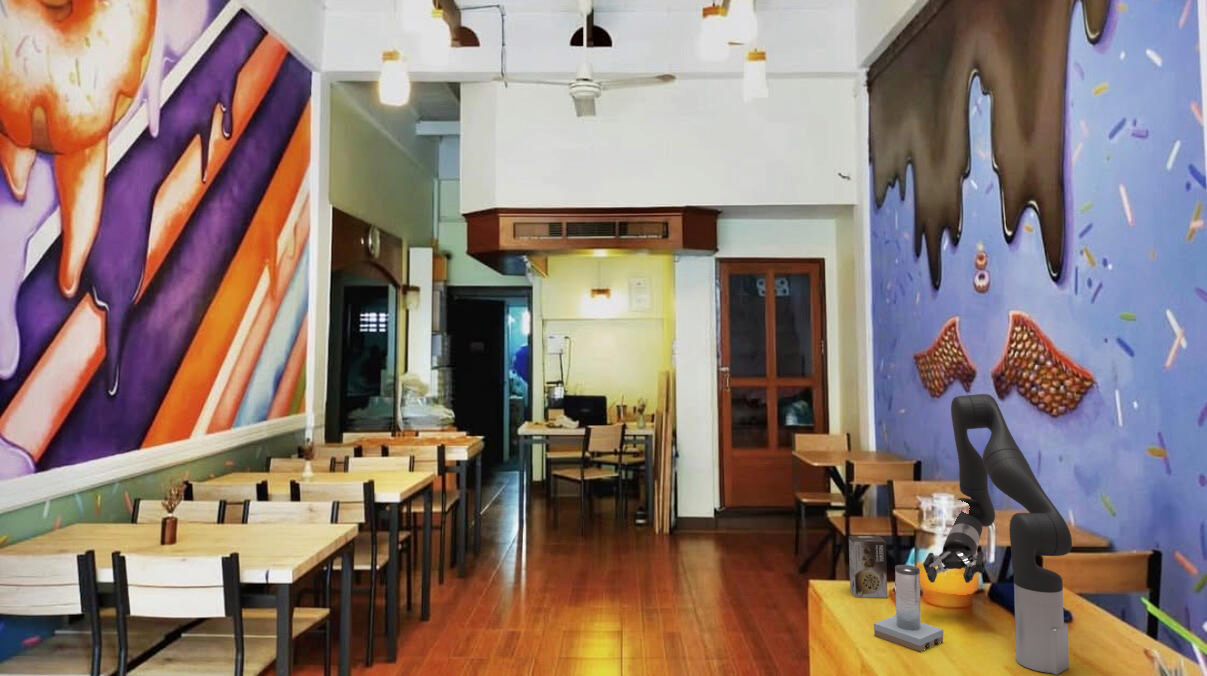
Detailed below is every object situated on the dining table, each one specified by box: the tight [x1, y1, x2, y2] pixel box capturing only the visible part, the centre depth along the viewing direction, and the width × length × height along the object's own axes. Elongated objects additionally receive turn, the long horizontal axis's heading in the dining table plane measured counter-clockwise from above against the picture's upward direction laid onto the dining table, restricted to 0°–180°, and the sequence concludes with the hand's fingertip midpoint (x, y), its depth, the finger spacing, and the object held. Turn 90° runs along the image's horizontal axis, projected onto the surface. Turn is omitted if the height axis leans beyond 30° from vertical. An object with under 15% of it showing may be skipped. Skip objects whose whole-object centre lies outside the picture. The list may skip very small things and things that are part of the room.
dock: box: [873, 614, 944, 652], centre depth 169 cm, size 12×10×3 cm
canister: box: [894, 564, 922, 631], centre depth 169 cm, size 6×6×14 cm
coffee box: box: [848, 535, 888, 599], centre depth 201 cm, size 9×6×16 cm
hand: (948, 579), depth 175 cm, fingers open, 8 cm apart
